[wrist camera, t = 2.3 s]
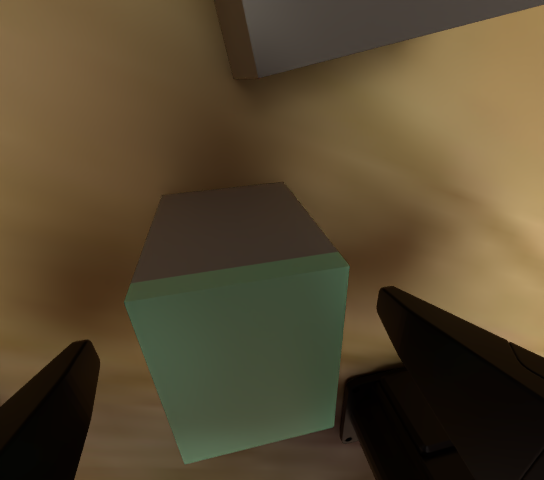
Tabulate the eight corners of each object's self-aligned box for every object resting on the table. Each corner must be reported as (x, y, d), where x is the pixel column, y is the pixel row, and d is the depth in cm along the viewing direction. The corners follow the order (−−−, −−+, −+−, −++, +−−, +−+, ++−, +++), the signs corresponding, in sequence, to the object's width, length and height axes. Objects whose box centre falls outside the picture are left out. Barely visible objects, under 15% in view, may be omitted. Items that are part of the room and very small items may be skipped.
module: (286, 301, 14) (333, 427, 9) (191, 318, 14) (184, 464, 8) (282, 181, 11) (349, 265, 6) (162, 194, 11) (123, 302, 6)
